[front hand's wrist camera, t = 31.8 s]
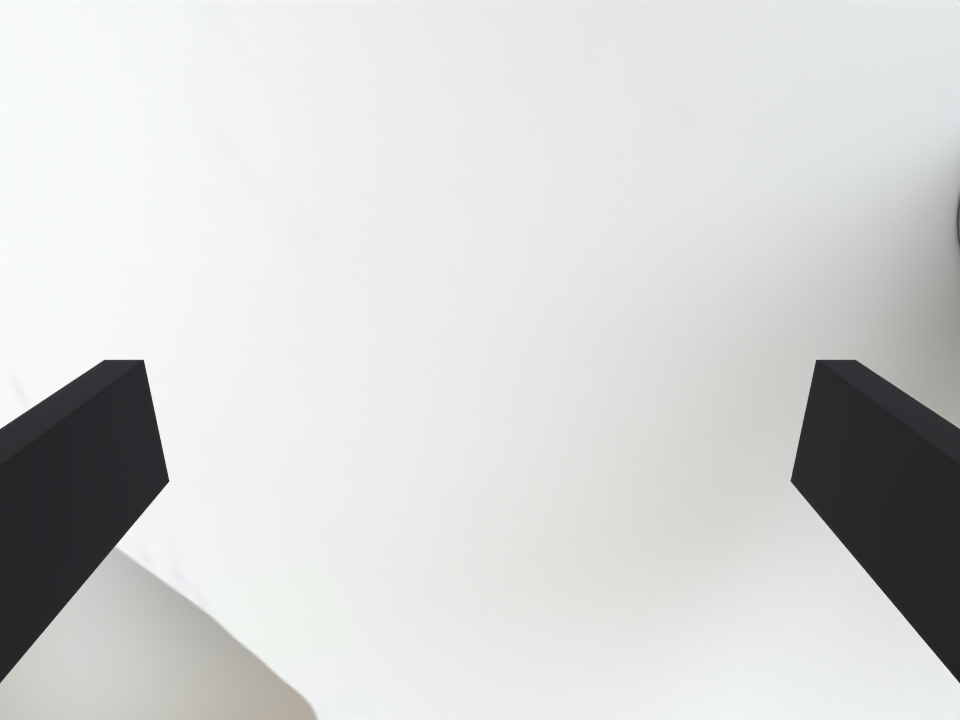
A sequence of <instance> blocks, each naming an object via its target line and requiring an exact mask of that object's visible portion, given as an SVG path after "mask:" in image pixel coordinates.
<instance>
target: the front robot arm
mask: <svg viewBox="0 0 960 720" xmlns="http://www.w3.org/2000/svg"><path fill="white" fill-rule="evenodd" d="M958 225H959V238H960V209H959V221H958ZM168 482H169V478H168V473H167V468H166V463H165V459H164V454H163V449H162V444H161V440H160V435H159V430H158V425H157V421H156V416H155V411H154V406H153V402H152V397H151V392H150V387H149V383H148V378H147V373H146V368H145V364H144V360H104V361H102V362H101V363H99V364H98V365H96V366H95V367H93V368H92V369H90V370H89V371H87V372H86V373H84V374H83V375H81V376H80V377H78V378H77V379H75V380H73V381H72V382H70V383H69V384H67V385H66V386H64V387H63V388H61V389H60V390H58V391H57V392H55V393H54V394H52V395H51V396H49V397H48V398H46V399H45V400H43V401H42V402H40V403H39V404H37V405H36V406H34V407H33V408H31V409H30V410H28V411H27V412H25V413H24V414H22V415H21V416H19V417H18V418H16V419H15V420H13V421H12V422H10V423H9V424H7V425H6V426H4V427H3V428H1V429H0V683H1V681H2V680H3V679H4V678H5V677H6V675H7V674H8V673H9V672H10V671H11V670H12V668H13V667H14V666H15V665H16V664H17V662H18V661H19V660H20V659H21V658H22V656H23V655H24V654H25V653H26V652H27V650H28V649H29V648H30V647H31V646H32V644H33V643H34V642H35V641H36V640H37V638H38V637H39V636H40V635H41V634H42V633H43V631H44V630H45V629H46V628H47V627H48V625H49V624H50V623H51V622H52V621H53V619H54V618H55V617H56V616H57V615H58V613H59V612H60V611H61V610H62V609H63V607H64V606H65V605H66V604H67V603H68V602H69V600H70V599H71V598H72V597H73V596H74V594H75V593H76V592H77V591H78V590H79V588H80V587H81V586H82V585H83V584H84V582H85V581H86V580H87V579H88V578H89V577H90V575H91V574H92V573H93V572H94V571H95V569H96V568H97V567H98V566H99V565H100V563H101V562H102V561H103V560H104V559H105V557H106V556H107V555H108V554H109V553H110V551H111V550H112V549H113V548H114V547H115V546H116V544H117V543H118V542H119V541H120V540H121V538H122V537H123V536H124V535H125V534H126V532H127V531H128V530H129V529H130V528H131V526H132V525H133V524H134V523H135V522H136V520H137V519H138V518H139V517H140V516H141V514H142V513H143V512H144V511H145V510H146V509H147V507H148V506H149V505H150V504H151V503H152V501H153V500H154V499H155V498H156V497H157V495H158V494H159V493H160V492H161V491H162V489H163V488H164V487H165V486H166V485H167V483H168ZM791 482H792V483H793V485H794V486H795V487H796V488H797V489H798V491H799V492H800V493H801V494H802V495H803V497H804V498H805V499H806V500H807V501H808V503H809V504H810V505H811V506H812V507H813V509H814V510H815V511H816V512H817V513H818V514H819V516H820V517H821V518H822V519H823V520H824V522H825V523H826V524H827V525H828V526H829V528H830V529H831V530H832V531H833V532H834V534H835V535H836V536H837V537H838V538H839V540H840V541H841V542H842V543H843V544H844V546H845V547H846V548H847V549H848V550H849V551H850V553H851V554H852V555H853V556H854V557H855V559H856V560H857V561H858V562H859V563H860V565H861V566H862V567H863V568H864V569H865V571H866V572H867V573H868V574H869V575H870V577H871V578H872V579H873V580H874V581H875V582H876V584H877V585H878V586H879V587H880V588H881V590H882V591H883V592H884V593H885V594H886V596H887V597H888V598H889V599H890V600H891V602H892V603H893V604H894V605H895V606H896V608H897V609H898V610H899V611H900V612H901V614H902V615H903V616H904V617H905V618H906V619H907V621H908V622H909V623H910V624H911V625H912V627H913V628H914V629H915V630H916V631H917V633H918V634H919V635H920V636H921V637H922V639H923V640H924V641H925V642H926V643H927V645H928V646H929V647H930V648H931V649H932V650H933V652H934V653H935V654H936V655H937V656H938V658H939V659H940V660H941V661H942V662H943V664H944V665H945V666H946V667H947V668H948V670H949V671H950V672H951V673H952V674H953V676H954V677H955V678H956V679H957V680H958V681H959V683H960V429H959V428H957V427H956V426H954V425H953V424H951V423H950V422H948V421H947V420H945V419H944V418H942V417H941V416H939V415H938V414H936V413H935V412H933V411H932V410H930V409H929V408H927V407H926V406H924V405H923V404H921V403H920V402H918V401H917V400H915V399H914V398H912V397H911V396H909V395H908V394H906V393H905V392H903V391H902V390H900V389H899V388H897V387H896V386H894V385H893V384H891V383H890V382H888V381H887V380H885V379H883V378H882V377H880V376H879V375H877V374H876V373H874V372H873V371H871V370H870V369H868V368H867V367H865V366H864V365H862V364H861V363H859V362H858V361H856V360H816V364H815V368H814V373H813V378H812V383H811V387H810V392H809V397H808V402H807V406H806V411H805V416H804V421H803V425H802V430H801V435H800V440H799V444H798V449H797V454H796V459H795V463H794V468H793V473H792V478H791Z"/></svg>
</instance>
